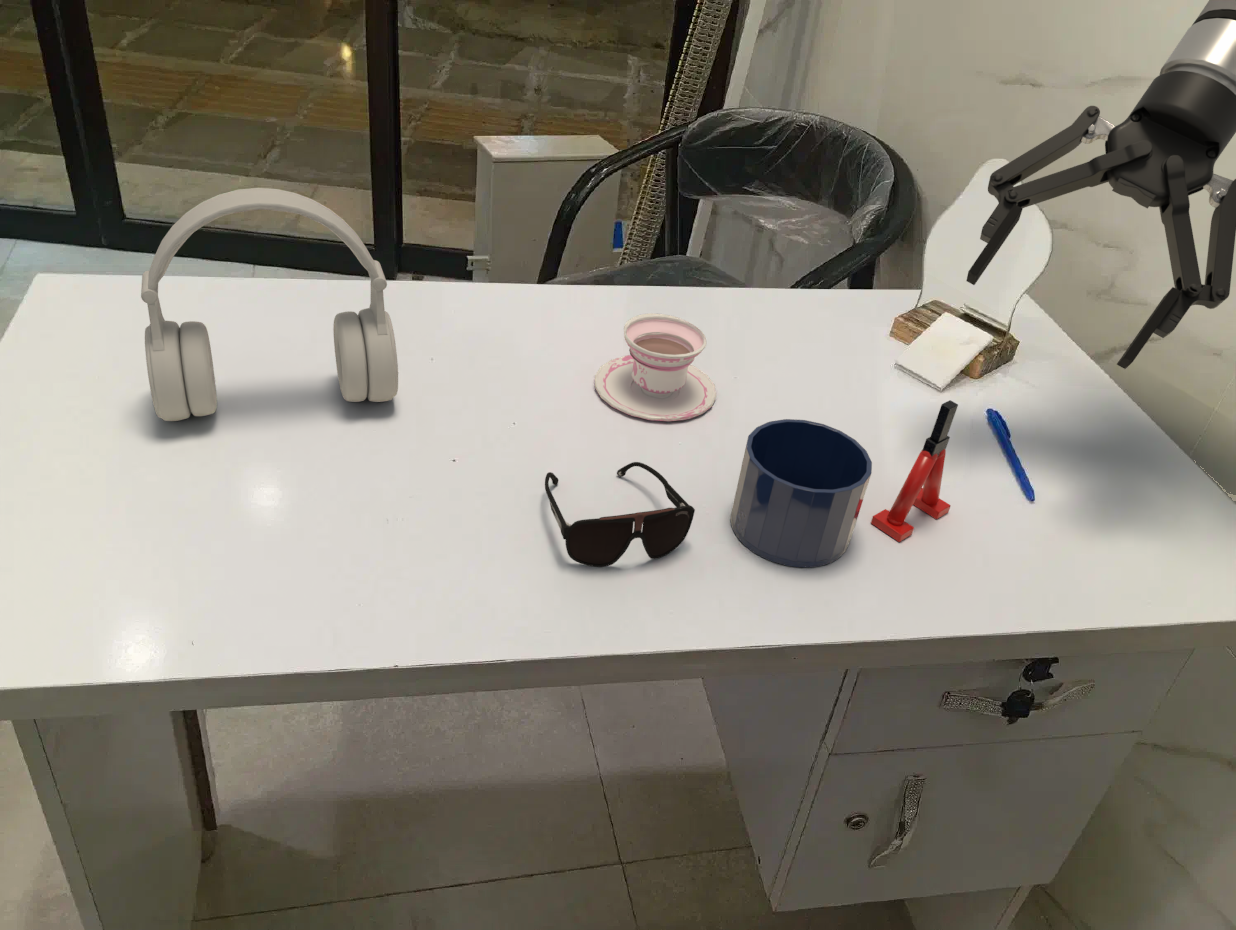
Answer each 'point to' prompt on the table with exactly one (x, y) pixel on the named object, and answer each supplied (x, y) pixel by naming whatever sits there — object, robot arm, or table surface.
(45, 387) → the table surface
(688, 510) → the sunglasses
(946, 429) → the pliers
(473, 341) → the table surface
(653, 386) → the teacup
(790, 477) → the pen cup
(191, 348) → the headphones
